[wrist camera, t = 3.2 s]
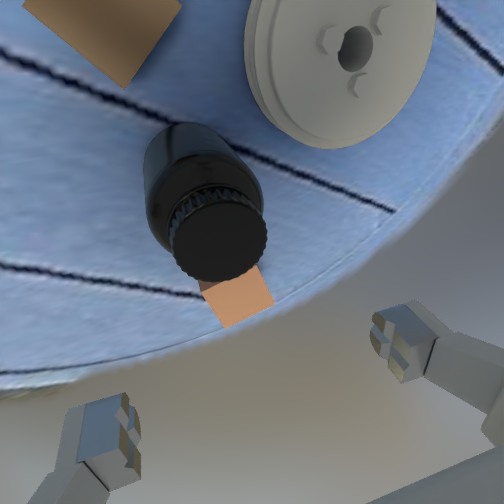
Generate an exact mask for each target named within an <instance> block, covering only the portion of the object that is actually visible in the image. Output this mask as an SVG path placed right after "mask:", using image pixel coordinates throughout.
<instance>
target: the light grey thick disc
mask: <svg viewBox="0 0 504 504" xmlns="http://www.w3.org/2000/svg"><path fill="white" fill-rule="evenodd" d="M435 23H436V0H251V4H250V7H249V10H248V14H247V19H246V25H245V32H244V63H245V69H246V75H247V79H248V82H249V86H250V89H251V92H252V94H253V96H254V99H255V101H256V103H257V104H258V106H259V107H260V109H261V111H262V112H263V113H264V115H265V116H266V117H267V118H268V120H269V121H270V122H272V123H273V124H274V125H275V126H276V127H277V128H279V129H280V130H282V131H283V132H285V133H286V134H288V135H289V136H291V137H292V138H294V139H295V140H297V141H299V142H301V143H303V144H305V145H308V146H311V147H314V148H321V149H338V148H344V147H348V146H351V145H354V144H357V143H359V142H361V141H363V140H366V139H367V138H369V137H371V136H372V135H374V134H375V133H377V132H378V131H379V130H381V129H382V128H383V127H384V126H386V125H387V124H388V123H389V122H390V121H391V120H392V119H393V118H394V117H395V116H396V115H397V113H398V112H399V111H400V110H401V109H402V107H403V106H404V105H405V103H406V102H407V100H408V99H409V97H410V96H411V95H412V93H413V91H414V89H415V87H416V86H417V84H418V82H419V80H420V78H421V75H422V73H423V71H424V69H425V66H426V63H427V60H428V57H429V54H430V50H431V46H432V42H433V38H434V31H435ZM338 51H340V52H339V55H338Z"/></svg>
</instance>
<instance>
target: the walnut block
mask: <svg viewBox="0 0 504 504" xmlns="http://www.w3.org/2000/svg"><path fill="white" fill-rule="evenodd" d="M22 7H24V8H25V9H26V10H27V11H29V12H30V13H31V14H32V15H33V16H35V17H36V18H37V19H38V20H40V21H41V22H42V23H43V24H44V25H46V26H47V27H48V28H49V29H51V30H52V31H53V32H54V33H55V34H57V35H58V36H59V37H60V38H62V39H63V40H64V41H65V42H66V43H68V44H69V45H70V46H71V47H73V48H74V49H75V50H76V51H77V52H79V53H80V54H81V55H82V56H84V57H85V58H86V59H87V60H88V61H90V62H91V63H92V64H93V65H95V66H96V67H97V68H98V69H99V70H101V71H102V72H103V73H104V74H106V75H107V76H108V77H109V78H110V79H112V80H113V81H114V82H115V83H116V84H118V85H119V86H120V87H121V88H123V89H124V90H125V88H126V87H127V85H128V84H129V82H130V81H131V80H132V78H133V77H134V75H135V74H136V72H137V71H138V69H139V68H140V67H141V65H142V64H143V62H144V61H145V59H146V58H147V56H148V55H149V54H150V52H151V51H152V49H153V48H154V46H155V45H156V43H157V42H158V41H159V39H160V38H161V36H162V35H163V33H164V32H165V30H166V29H167V28H168V26H169V25H170V23H171V22H172V20H173V19H174V17H175V16H176V15H177V13H178V12H179V10H180V9H181V7H182V5H181V4H180V3H179V2H178V1H177V0H25V2H24V4H23V5H22Z"/></svg>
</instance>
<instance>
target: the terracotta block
mask: <svg viewBox="0 0 504 504" xmlns="http://www.w3.org/2000/svg"><path fill="white" fill-rule="evenodd" d="M198 283H199V287H200V291H201V294H202V295H203V297H204V298H205V299H206V301H207V302H208V304H209V305H210V307H211V308H212V310H213V311H214V313H215V314H216V316H217V317H218V319H219V320H220V322H221V323H222V325H223V326H224V328H225V329H226V328H228V327H230V326H232V325H234V324H236V323H238V322H240V321H242V320H244V319H246V318H248V317H250V316H252V315H254V314H256V313H258V312H260V311H262V310H264V309H266V308H268V307H270V306H272V305H274V304H275V302H274V300H273V298H272V296H271V294H270V292H269V290H268V288H267V286H266V284H265V282H264V279H263V277H262V275H261V273H260V271H259V269H258V267H257V265H256V264H254V266H253V268H252V269H250V270H248V271H247V272H246V273H245V274H242V275H241V276H239V277H238V278H233V279H232V280H230V281H224V282H215V283H211V282H203V281H201V280H198Z"/></svg>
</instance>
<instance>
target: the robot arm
mask: <svg viewBox="0 0 504 504" xmlns="http://www.w3.org/2000/svg"><path fill="white" fill-rule="evenodd" d="M372 322H373V323H374V326H373V327H372V328H371V330H370V340H371V343H372V346H373V348H374V350H375V351H376V352H377V354H378V355H379V356H380V357H382V358H384V359H386V360H388V368H389V369H390V370H391V371H392V373H393V374H394V375H395V377H396V378H397V379H398V380H399V382H400V383H401V384H402V383H405V382H408V381H411V380H414V379H417V378H420V377H423V376H424V378H426V379H428V380H429V381H431V382H433V383H434V384H436V385H438V386H439V387H441V388H443V389H445V390H446V391H448V392H450V393H451V394H453V395H455V396H456V397H458V398H460V399H462V400H463V401H465V402H467V403H469V404H470V405H472V406H474V407H475V408H477V409H479V410H480V411H482V412H484V413H486V414H487V416H486V418H485V420H484V422H483V424H482V425H481V431H482V433H484V435H485V436H486V437H487V438H488V439H489V440H490V442H491V443H492V444H493V445H494V446H495V448H493V449H490V450H488V451H486V452H484V453H481V454H479V455H477V456H474V457H472V458H470V459H467V460H465V461H463V462H460V463H458V464H456V465H454V466H452V467H449V468H447V469H445V470H442V471H440V472H437V473H435V474H433V475H430V476H428V477H426V478H424V479H421V480H419V481H417V482H414V483H412V484H410V485H408V486H405V487H403V488H401V489H398V490H396V491H394V492H391V493H389V494H387V495H385V496H382V497H380V498H378V499H376V500H373V501H371V502H368V503H366V504H504V349H503V348H500V347H498V346H495V345H492V344H490V343H487V342H484V341H482V340H479V339H476V338H474V337H471V336H468V335H466V334H463V333H460V332H455V333H454V332H453V331H452V330H450V329H449V328H448V327H447V326H446V325H445V324H444V323H443V322H441V321H440V320H439V319H438V318H437V317H436V316H435V315H434V314H433V313H431V312H430V311H429V310H428V309H427V308H426V307H425V306H424V305H422V304H421V303H420V302H419V301H417V300H412V301H409V302H406V303H403V304H398V305H395V306H392V307H389V308H387V309H383V310H380V311H377V312H375V313H374V314H373V315H372ZM140 439H141V427H140V421H139V416H138V413H137V411H136V409H135V407H133V406H130V405H129V397H128V395H127V394H126V393H125V392H124V393H120V394H117V395H114V396H110V397H107V398H103V399H100V400H96V401H93V402H90V403H86V404H83V405H80V406H77V407H73V408H70V409H69V410H68V412H67V414H66V415H65V420H64V425H63V430H62V434H61V440H60V444H59V449H58V455H57V459H56V464H55V469H54V472H52V473H49V474H48V475H47V476H46V477H45V479H44V480H43V482H42V483H41V485H40V486H39V487H38V489H37V491H36V492H35V493H34V495H33V496H32V497H31V499H30V500H29V502H28V503H27V504H106V502H107V500H108V497H109V495H110V493H109V492H110V491H113V490H116V489H118V488H120V487H123V486H126V485H128V484H131V483H133V482H136V481H138V480H140V479H141V454H140V452H139V451H138V449H137V445H138V443H139V441H140Z"/></svg>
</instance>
